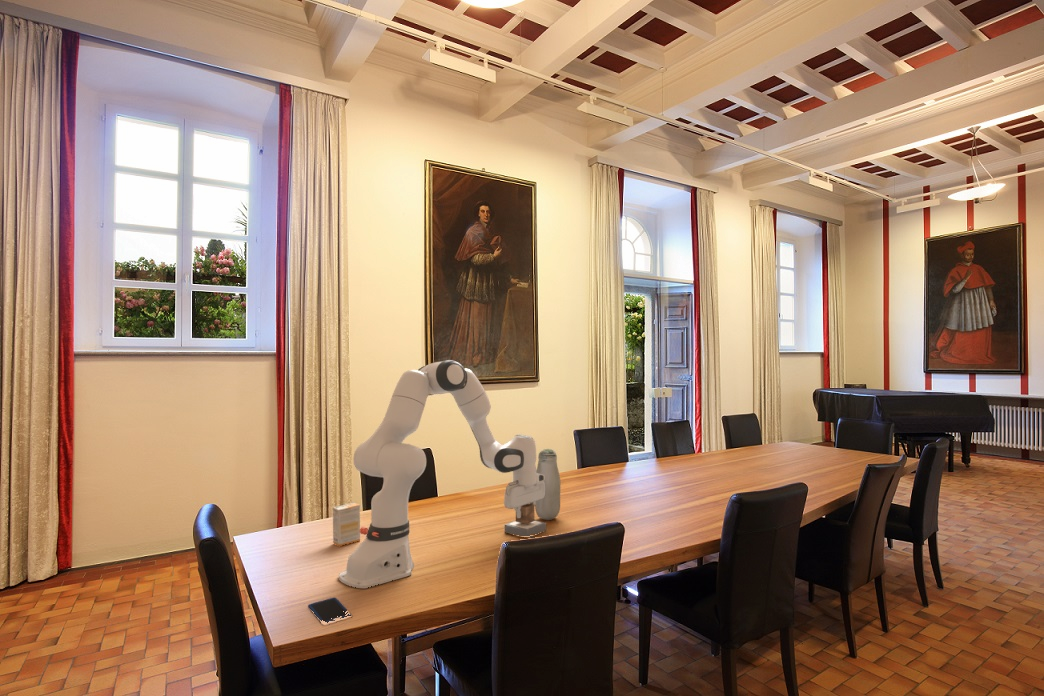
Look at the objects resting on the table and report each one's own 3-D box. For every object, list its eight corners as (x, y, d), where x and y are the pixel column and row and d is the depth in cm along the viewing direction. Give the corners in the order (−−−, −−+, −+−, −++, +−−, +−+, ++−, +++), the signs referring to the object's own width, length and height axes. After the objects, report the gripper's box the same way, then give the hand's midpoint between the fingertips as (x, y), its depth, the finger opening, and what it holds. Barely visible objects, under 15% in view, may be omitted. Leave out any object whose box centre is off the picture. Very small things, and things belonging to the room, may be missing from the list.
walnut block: (526, 524, 196) (526, 507, 196) (515, 521, 199) (515, 505, 199) (534, 520, 200) (534, 504, 200) (524, 518, 203) (524, 502, 203)
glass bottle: (547, 524, 208) (547, 452, 209) (530, 518, 216) (529, 449, 217) (565, 519, 215) (564, 449, 215) (547, 513, 222) (547, 446, 223)
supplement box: (354, 538, 195) (353, 502, 195) (360, 541, 191) (360, 504, 191) (332, 544, 189) (332, 506, 189) (338, 547, 185) (338, 509, 186)
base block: (527, 538, 192) (527, 529, 192) (504, 532, 199) (504, 524, 199) (546, 531, 200) (546, 522, 200) (523, 525, 207) (523, 517, 207)
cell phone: (323, 627, 130) (323, 624, 130) (307, 607, 141) (307, 604, 141) (353, 618, 135) (353, 615, 135) (335, 599, 146) (335, 596, 146)
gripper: (513, 484, 190) (513, 523, 190) (547, 474, 206) (548, 511, 205) (499, 482, 194) (500, 520, 194) (534, 472, 210) (535, 508, 209)
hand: (525, 515), depth 200 cm, fingers closed on walnut block, 5 cm apart
